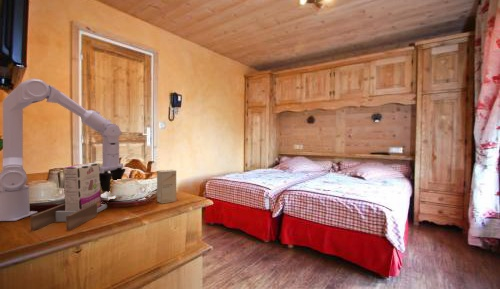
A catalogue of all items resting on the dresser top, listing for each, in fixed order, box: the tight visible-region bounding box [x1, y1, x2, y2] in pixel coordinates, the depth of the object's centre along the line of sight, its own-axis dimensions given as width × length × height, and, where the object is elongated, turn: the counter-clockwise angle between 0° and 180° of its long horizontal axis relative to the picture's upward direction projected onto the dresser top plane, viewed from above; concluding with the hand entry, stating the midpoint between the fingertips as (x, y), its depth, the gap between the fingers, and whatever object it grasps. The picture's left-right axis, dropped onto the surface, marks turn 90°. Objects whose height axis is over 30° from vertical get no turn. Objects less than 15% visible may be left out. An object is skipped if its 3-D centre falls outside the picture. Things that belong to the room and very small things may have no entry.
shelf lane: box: [30, 203, 98, 232], centre depth 72 cm, size 11×12×4 cm
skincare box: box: [156, 169, 177, 204], centre depth 95 cm, size 6×4×12 cm
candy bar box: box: [62, 162, 102, 211], centre depth 78 cm, size 11×5×16 cm, turn 3°
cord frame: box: [55, 189, 110, 223], centre depth 85 cm, size 7×25×5 cm, turn 1°
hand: (111, 188), depth 95 cm, fingers open, 7 cm apart
